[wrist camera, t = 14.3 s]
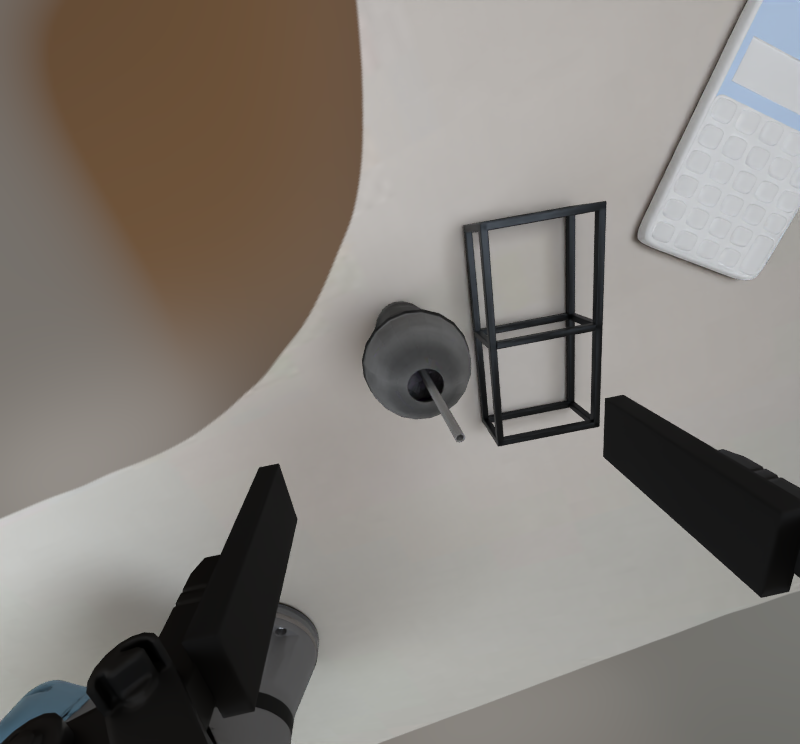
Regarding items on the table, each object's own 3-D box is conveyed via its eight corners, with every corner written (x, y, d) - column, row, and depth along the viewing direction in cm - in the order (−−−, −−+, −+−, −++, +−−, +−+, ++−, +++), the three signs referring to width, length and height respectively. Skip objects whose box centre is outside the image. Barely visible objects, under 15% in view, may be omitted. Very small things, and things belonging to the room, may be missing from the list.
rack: (482, 421, 40) (498, 446, 35) (463, 225, 33) (479, 223, 28) (571, 404, 40) (599, 426, 36) (571, 205, 33) (606, 200, 29)
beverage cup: (396, 269, 34) (438, 311, 15) (453, 320, 36) (551, 412, 17) (346, 329, 35) (327, 436, 17) (404, 374, 37) (444, 514, 19)
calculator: (629, 241, 35) (643, 241, 33) (753, -21, 29) (779, -38, 27) (740, 282, 37) (758, 284, 36) (875, 50, 31) (906, 38, 29)
